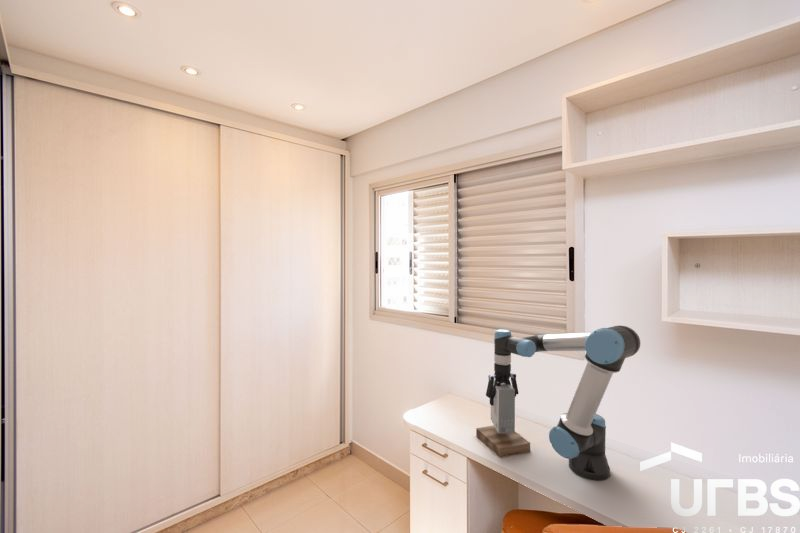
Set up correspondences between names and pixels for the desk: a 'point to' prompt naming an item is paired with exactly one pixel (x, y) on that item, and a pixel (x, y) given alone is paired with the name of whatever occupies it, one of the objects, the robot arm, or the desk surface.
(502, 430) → the hard drive box
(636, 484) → the desk surface
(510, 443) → the walnut riser
